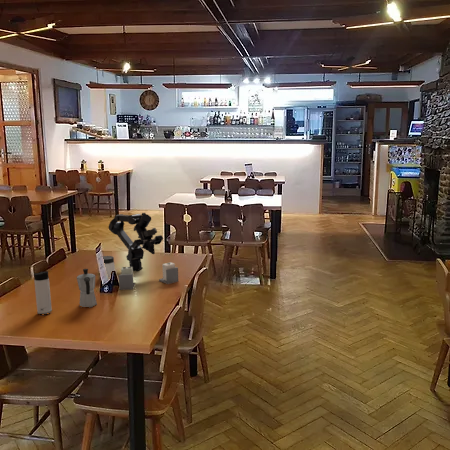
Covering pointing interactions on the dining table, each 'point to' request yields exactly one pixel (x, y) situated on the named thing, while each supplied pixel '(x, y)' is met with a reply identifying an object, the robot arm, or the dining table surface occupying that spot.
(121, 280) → the housing
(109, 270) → the jar
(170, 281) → the housing
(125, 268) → the block with two buttons
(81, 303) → the coffee maker
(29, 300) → the dining table surface
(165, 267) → the plunger
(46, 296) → the travel mug
